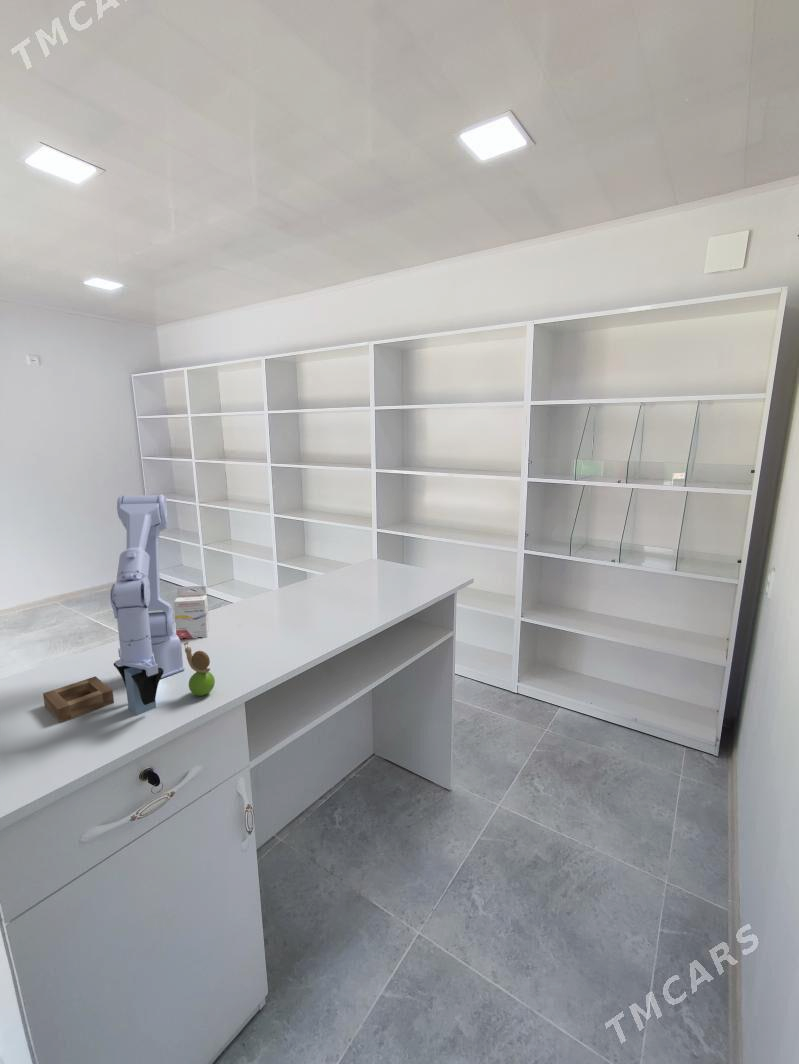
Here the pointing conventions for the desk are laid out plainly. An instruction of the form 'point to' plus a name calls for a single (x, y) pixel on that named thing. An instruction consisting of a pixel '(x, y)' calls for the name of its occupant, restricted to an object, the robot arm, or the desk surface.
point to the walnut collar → (78, 698)
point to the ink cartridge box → (191, 612)
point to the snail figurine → (199, 672)
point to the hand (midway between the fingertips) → (141, 696)
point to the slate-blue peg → (135, 693)
